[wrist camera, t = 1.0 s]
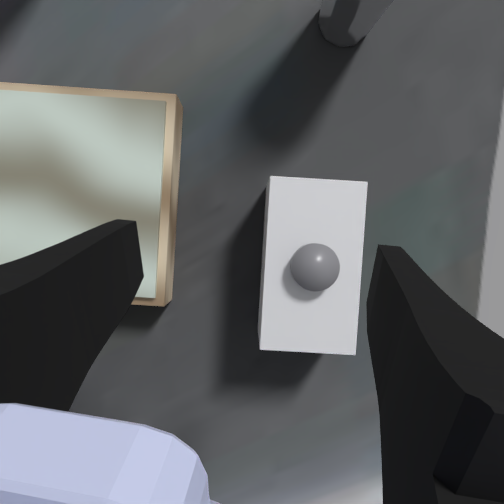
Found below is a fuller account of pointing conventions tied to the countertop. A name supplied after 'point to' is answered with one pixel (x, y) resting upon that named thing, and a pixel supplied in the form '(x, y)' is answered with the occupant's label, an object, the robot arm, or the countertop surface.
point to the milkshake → (349, 19)
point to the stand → (90, 172)
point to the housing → (311, 265)
